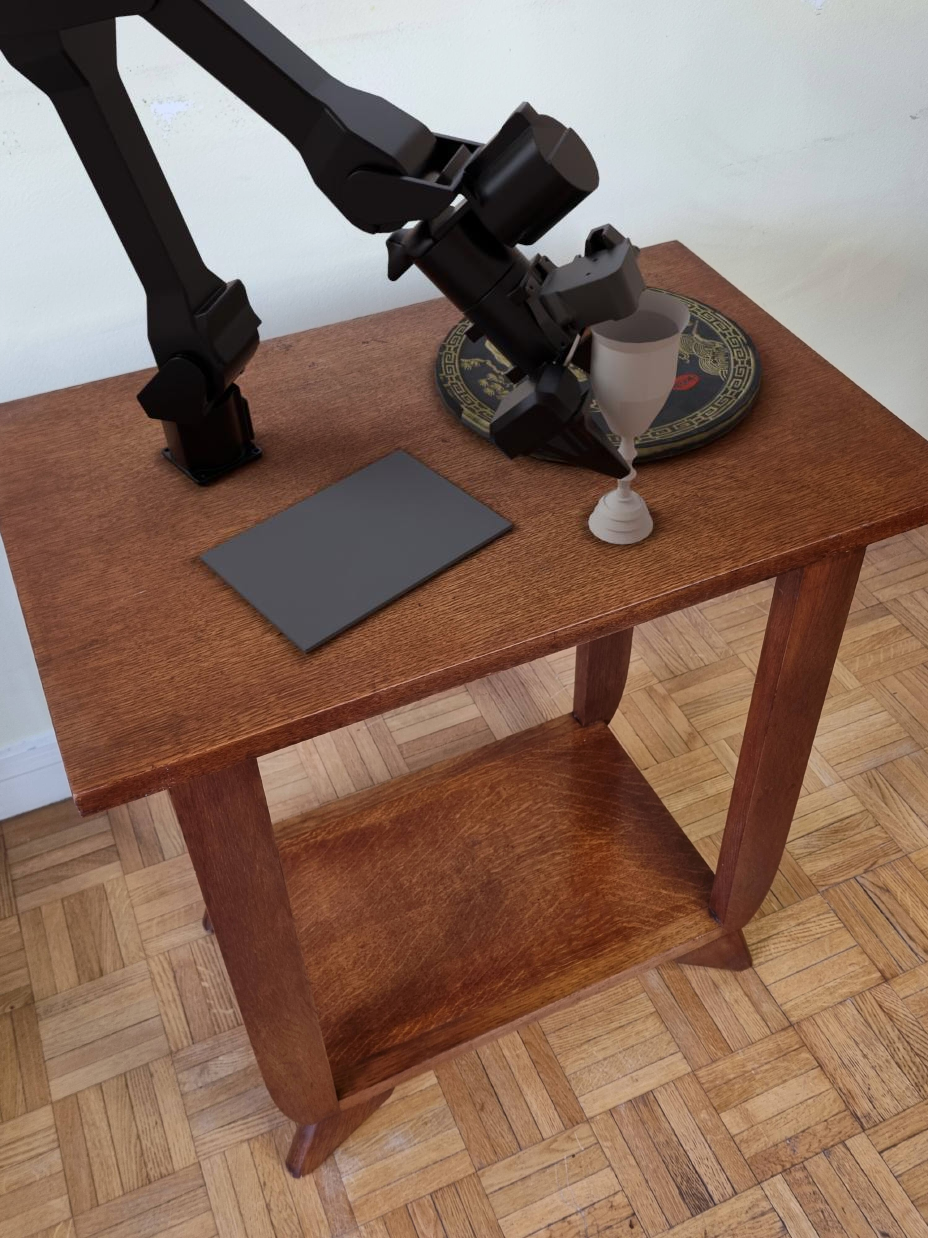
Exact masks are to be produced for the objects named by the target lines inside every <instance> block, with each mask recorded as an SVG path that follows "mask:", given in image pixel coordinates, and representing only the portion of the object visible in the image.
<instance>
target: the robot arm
mask: <svg viewBox="0 0 928 1238" xmlns="http://www.w3.org/2000/svg"><path fill="white" fill-rule="evenodd" d="M132 16H133V17H134V16H138V17H140V18H142V19H143V20H144V21H145V22H146V23H148V24H149V25H151V26H152V27H153V28H154V29H155V30H156V31H158V32H159V33H160V34H161V35H162V36H164V37H165V38H166V39H167V40H168V41H169V42H170V43H172V44H173V45H174V46H176V47H177V48H178V49H179V50H180V51H181V52H182V53H184V54H185V55H186V56H187V57H189V59H191V60H192V61H193V62H195V64H197V65H198V66H199V67H201V68H202V69H203V70H204V71H205V72H207V73H208V74H209V75H210V76H211V77H213V78H214V79H215V80H216V81H217V82H218V83H219V84H221V85H222V86H223V87H225V89H227V91H229V92H230V93H232V94H233V95H234V96H235V97H236V98H237V99H239V100H240V101H241V102H242V103H244V104H245V105H246V106H247V107H248V108H249V109H251V110H252V111H253V112H254V113H256V114H257V116H259V117H260V118H261V119H263V120H264V121H265V122H266V123H268V124H269V125H270V126H271V127H272V128H273V129H274V130H276V131H277V132H278V133H279V134H280V135H282V136H283V137H284V138H285V139H286V140H287V141H288V142H289V143H290V144H291V145H292V147H293V148H294V149H295V151H297V152H298V154H299V155H300V157H301V159H302V161H303V163H304V165H305V167H306V170H307V171H308V173H309V176H310V178H311V179H312V182H313V183H314V185H315V187H316V188H317V189H318V190H319V191H320V192H321V193H322V194H323V195H324V196H325V198H326V199H327V200H328V201H329V202H330V203H331V205H333V206H334V208H336V210H338V212H339V213H340V214H341V215H342V216H343V217H344V218H345V219H346V220H347V222H349V223H350V225H352V226H353V227H355V228H357V229H358V230H360V231H362V232H364V233H366V234H369V235H372V236H373V235H376V234H390V235H389V236H388V237H387V238H386V239H385V243H384V244H385V246H386V247H385V248H386V251H387V272H386V273H387V275H386V276H387V280H389V281H391V282H396V281H398V280H399V279H400V278H401V277H402V276H403V275H404V274H405V273H406V272H407V271H408V270H409V269H410V268H411V267H412V266H414V265H415V267H416V268H417V269H418V270H419V271H420V272H421V273H423V275H424V276H425V277H426V278H427V279H428V280H429V281H430V282H431V283H432V284H433V285H434V287H436V289H438V290H439V292H440V293H441V294H443V296H444V297H445V298H446V299H447V300H448V301H449V302H450V303H451V304H452V305H453V306H454V307H455V308H456V309H457V310H458V311H459V312H460V313H461V314H462V315H463V316H464V317H466V318H467V319H468V320H469V321H470V324H469V325H468V327H467V329H466V330H465V332H464V334H465V335H466V336H467V337H468V338H469V339H470V340H471V341H472V342H473V343H475V342H476V341H478V340H479V339H480V338H481V337H482V336H484V337H485V338H486V339H487V340H488V341H489V342H490V343H491V344H492V345H493V346H494V347H495V348H496V349H497V350H498V351H499V352H500V353H501V354H502V355H503V356H504V357H505V358H506V359H507V360H508V361H509V362H510V363H511V364H510V366H509V368H508V370H507V372H506V374H505V376H506V377H507V378H508V379H509V380H510V381H511V382H512V383H513V384H514V385H515V384H516V383H518V382H519V381H520V380H522V379H523V378H524V377H526V376H527V375H528V376H529V377H530V378H528V379H527V380H526V381H524V382H523V383H522V384H520V385H519V386H518V387H516V388H515V389H514V390H513V391H511V392H510V393H509V394H507V395H506V396H505V397H503V399H502V401H501V403H500V405H499V407H498V409H497V411H496V413H495V415H494V417H493V419H492V420H491V422H490V424H489V431H490V441H491V442H490V441H489V442H490V443H491V444H492V445H493V446H494V447H496V449H497V450H499V452H501V454H502V455H503V456H504V457H505V458H507V459H508V460H509V461H513V460H514V459H515V458H517V457H519V456H521V457H523V458H524V459H525V458H528V457H530V456H529V455H531V454H536V455H540V456H544V457H549V458H553V459H557V460H561V461H564V462H563V463H566V462H568V463H567V464H571V465H575V466H578V467H580V468H583V469H587V470H589V471H592V472H595V473H598V474H601V475H604V476H607V477H610V478H613V479H615V480H617V479H619V480H620V479H623V478H625V477H626V476H628V475H629V474H630V472H631V469H630V467H629V465H628V464H627V463H626V461H625V460H624V458H623V457H622V455H621V454H620V452H619V451H618V450H617V449H616V447H615V446H614V445H613V444H612V442H611V441H610V440H609V439H608V437H607V436H606V435H605V433H604V432H603V431H602V430H601V428H600V427H599V426H598V425H597V423H596V422H595V421H594V420H593V419H592V417H591V414H590V400H591V391H590V389H588V390H587V391H585V392H584V393H582V389H581V386H580V384H579V381H578V378H577V377H576V376H575V375H574V374H573V372H572V371H571V370H570V369H569V368H568V367H569V365H570V362H571V363H573V364H574V365H576V366H577V367H579V368H580V369H582V370H583V371H585V372H586V373H588V374H589V375H590V369H591V349H592V332H591V330H590V328H589V326H592V325H595V324H599V323H602V322H605V321H608V320H614V321H618V320H622V319H624V318H627V317H629V316H630V315H632V314H633V313H634V312H635V311H636V310H637V308H638V306H639V298H640V296H641V293H642V291H645V289H646V286H647V285H646V282H645V280H644V276H643V275H642V271H641V269H640V266H639V264H638V260H639V259H640V255H641V249H640V247H639V246H637V245H635V244H633V243H632V241H631V238H630V237H625V236H624V235H623V233H621V232H620V231H619V230H618V229H616V228H615V226H613V225H612V224H611V223H610V222H609V223H605V224H603V225H599V226H597V227H595V228H594V227H593V228H591V230H590V231H589V233H588V235H587V237H586V239H585V241H584V254H583V256H582V254H581V253H579V254H576V255H575V256H574V258H573V260H572V261H571V262H569V263H566V264H563V265H561V266H557V265H556V264H555V263H554V262H553V261H552V260H551V259H550V258H549V257H548V256H547V255H546V254H545V255H544V254H543V255H541V254H540V253H539V252H537V253H536V254H535V255H534V256H533V257H531V258H530V259H528V257H527V256H526V255H525V254H524V253H523V252H522V251H521V250H520V249H519V248H518V247H517V245H520V246H527V247H528V246H533V245H534V244H536V243H537V242H538V241H540V239H542V238H543V237H544V236H545V235H546V234H547V233H548V232H550V231H551V230H552V229H553V228H554V227H555V226H556V225H558V223H560V222H561V221H562V220H563V219H565V218H566V216H568V215H569V214H570V213H571V212H572V211H574V210H575V209H576V208H577V207H578V206H579V205H580V204H582V202H584V201H585V200H586V199H587V198H588V197H589V196H590V195H591V194H593V193H594V192H595V191H596V190H597V189H598V187H599V186H600V173H599V169H598V166H597V162H596V161H595V159H594V157H593V155H592V153H591V151H590V149H589V147H588V146H587V145H586V143H585V142H584V140H583V139H582V137H581V136H580V135H579V134H578V133H577V132H576V131H575V129H573V128H572V127H567V126H566V125H565V124H563V123H562V122H561V121H559V120H558V119H556V118H555V117H553V116H550V115H548V114H542V113H538V112H537V110H536V109H535V108H534V107H533V105H531V103H529V101H522V102H521V103H520V104H519V105H518V106H517V107H516V108H515V109H514V111H513V112H512V113H511V114H510V115H509V116H508V118H507V119H506V120H505V121H504V123H503V124H502V126H501V128H500V129H499V130H498V131H497V132H496V133H495V134H494V135H493V136H492V137H491V138H490V139H489V140H488V141H487V142H486V143H485V142H479V141H475V140H471V139H466V138H462V137H457V136H452V135H449V134H443V133H440V132H435V131H431V129H430V128H429V127H428V126H427V125H426V124H424V123H423V122H422V121H420V120H419V119H417V117H414V116H412V115H411V114H410V113H409V112H406V111H405V110H403V109H402V108H400V107H398V106H397V105H395V104H394V103H392V102H391V101H389V100H388V99H387V98H386V99H385V98H384V97H383V96H379V95H377V94H373V93H371V92H369V91H364V90H362V89H358V88H355V87H352V86H349V85H348V84H345V83H344V82H342V81H341V80H339V79H337V78H336V77H334V76H333V75H331V74H330V73H329V72H328V71H327V70H326V69H324V67H322V66H321V65H320V64H319V63H318V62H316V61H315V60H314V59H313V58H312V57H311V56H309V55H308V54H307V53H306V52H305V51H303V49H302V48H300V46H298V45H297V44H295V42H293V41H292V40H291V39H290V38H288V37H287V36H286V35H285V34H284V33H283V32H282V31H280V30H279V28H277V27H276V26H274V24H273V23H271V22H270V21H269V20H268V19H267V18H265V16H263V15H262V14H261V13H260V12H258V10H256V9H255V8H254V7H252V6H251V5H250V4H249V3H248V2H247V1H246V0H0V52H1V54H2V56H3V57H4V59H5V61H6V62H7V63H8V64H9V65H10V66H11V67H12V68H13V69H14V70H16V71H17V72H18V73H19V74H21V76H23V77H24V78H25V79H26V80H28V81H29V82H30V83H31V84H33V86H35V87H36V88H37V89H38V90H40V91H41V92H42V93H43V94H44V95H46V96H47V98H48V99H49V101H50V102H51V104H52V105H53V107H54V109H55V111H56V114H57V116H58V117H59V120H60V121H61V123H62V126H63V128H64V129H65V131H66V134H67V136H68V138H69V140H70V141H71V143H72V146H73V148H74V150H75V152H76V154H77V156H78V158H79V160H80V162H81V164H82V166H83V168H84V170H85V172H86V174H87V176H88V178H89V180H90V182H91V184H92V186H93V188H94V191H95V192H96V195H97V196H98V198H99V201H100V202H101V205H102V208H103V209H104V211H105V213H106V215H107V217H108V219H109V221H110V223H111V225H112V227H113V229H114V231H115V233H116V235H117V237H118V239H119V241H120V244H121V245H122V247H123V249H124V251H125V253H126V256H127V257H128V260H129V262H130V264H131V266H132V267H133V270H134V272H135V274H136V276H137V277H138V280H139V282H140V284H141V286H142V289H143V291H144V293H145V298H146V301H145V302H146V303H145V304H146V307H145V308H146V335H147V336H146V337H147V341H148V345H149V347H150V350H151V353H152V355H153V356H152V357H153V358H154V361H155V364H156V367H157V370H158V372H156V374H155V375H154V376H153V377H152V378H151V379H150V380H149V381H148V382H147V383H146V384H145V386H144V387H143V388H142V389H140V391H139V392H138V393H137V394H136V400H137V402H138V403H139V404H140V406H141V408H142V410H143V411H144V413H145V414H146V416H147V418H149V419H151V420H157V421H161V422H160V423H161V426H162V430H163V433H164V438H165V442H166V445H167V446H165V447H163V448H162V449H161V454H162V457H163V458H165V459H166V461H168V462H169V463H170V464H172V466H174V467H175V468H176V469H178V470H179V471H180V472H181V473H182V474H184V475H185V476H186V477H187V478H188V479H189V480H191V481H192V482H193V483H195V484H196V485H197V486H206V485H207V484H209V483H211V482H213V481H215V480H217V479H219V478H221V477H223V476H225V475H227V474H229V473H231V472H233V471H235V470H237V469H240V468H241V467H243V466H245V465H248V464H249V463H251V462H254V461H255V460H257V459H259V458H261V457H262V456H263V450H262V448H261V447H260V446H258V444H256V443H254V442H253V441H254V440H255V437H256V435H255V429H254V425H253V420H252V416H251V410H250V406H249V400H248V398H246V397H245V396H244V395H242V392H241V387H240V385H238V384H237V383H235V382H236V380H237V379H238V378H239V376H240V375H242V374H243V373H244V372H245V371H246V366H247V365H248V364H249V363H250V361H251V360H253V358H254V357H255V355H256V353H257V350H258V348H259V345H260V343H261V337H260V332H259V327H260V326H261V325H262V323H263V321H262V319H261V318H260V317H259V315H257V313H256V312H255V311H254V309H253V306H252V305H251V303H250V300H249V296H248V292H247V288H246V286H245V284H244V283H243V281H242V280H241V279H239V278H236V279H232V280H230V281H227V282H226V281H225V280H224V279H223V278H221V277H220V276H218V275H217V274H216V273H215V272H214V271H212V270H211V269H210V268H208V266H207V265H206V263H205V262H204V260H203V258H202V256H201V252H200V251H199V249H198V247H197V245H196V242H195V240H194V238H193V236H192V233H191V231H190V229H189V227H188V224H187V222H186V220H185V217H184V216H183V213H182V211H181V209H180V207H179V205H178V202H177V200H176V198H175V196H174V193H173V191H172V189H171V187H170V184H169V181H168V179H167V178H166V175H165V174H164V171H163V169H162V166H161V165H160V162H159V160H158V157H157V155H156V153H155V151H154V149H153V147H152V144H151V142H150V140H149V137H148V135H147V133H146V131H145V129H144V127H143V124H142V122H141V120H140V117H139V116H138V113H137V111H136V108H135V106H134V105H133V102H132V100H131V98H130V96H129V92H128V90H127V89H126V86H125V84H124V82H123V80H122V77H121V75H120V72H119V71H120V70H119V68H118V49H117V48H118V47H117V46H118V45H117V42H118V41H117V18H122V17H123V18H124V17H132ZM459 195H461V196H462V197H463V199H461V200H460V201H459V202H458V203H457V204H455V205H452V204H453V203H454V202H455V200H456V199H457V197H458V196H459ZM410 222H411V223H412V222H417V223H416V224H415V225H414V226H413V227H411V228H406V227H405V226H407V224H408V223H410ZM404 227H405V228H404ZM553 362H555V364H554V363H553Z"/></svg>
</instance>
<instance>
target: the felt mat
mask: <svg viewBox="0 0 928 1238" xmlns="http://www.w3.org/2000/svg"><path fill="white" fill-rule="evenodd" d="M511 529H513V523H511V522H510V521H508V520H507V519H505V518H504V517H502V515H500V514H498V513H496V511H494V510H492V509H491V508H489V507H488V506H486V505H484V504H483V503H482V502H480V501H479V500H477V499H476V498H474V497H473V496H471V495H470V494H469V493H466V492H465V491H464V490H462V489H461V488H459V487H458V486H456V484H453V483H452V482H451V481H449V480H448V479H446V478H444V477H443V476H441V475H440V474H438V473H437V472H435V471H434V470H432V469H431V468H430V467H428V466H426V465H425V464H424V463H422V462H420V461H419V460H417V459H416V458H415V457H413V456H412V455H410V454H408V453H407V452H405V451H404V450H402V449H401V448H399V449H397V450H395V451H394V452H392V453H390V454H387V455H386V456H384V457H382V458H380V459H378V460H377V461H375V462H373V463H371V464H370V465H368V466H366V467H364V468H362V469H360V470H358V471H356V472H354V473H352V474H351V475H348V476H347V477H345V478H343V479H341V480H340V481H338V482H336V483H334V484H332V485H330V486H328V487H326V488H325V489H322V490H321V491H319V492H316V493H315V494H313V495H311V496H309V497H307V498H305V499H303V500H302V501H300V502H298V503H296V504H294V505H292V506H291V507H288V508H286V509H285V510H283V511H281V512H279V513H277V514H276V515H273V516H272V517H270V518H268V519H265V520H263V521H262V522H261V523H259V524H256V525H255V526H253V527H251V528H249V529H247V530H245V531H244V532H242V533H240V534H238V535H236V536H234V537H231V538H230V539H229V540H227V541H224V542H223V543H221V544H219V545H217V546H216V547H213V548H211V549H210V550H207V551H206V552H204V553H202V554H200V555H199V557H200V560H201V561H202V562H203V563H204V564H205V565H207V566H208V567H209V568H210V569H211V570H212V571H213V572H214V573H216V575H218V576H219V577H220V578H221V579H222V580H223V581H224V582H225V583H227V585H229V586H230V587H231V588H232V589H233V590H234V591H235V592H237V593H238V594H239V596H241V597H242V598H243V599H244V600H246V601H247V602H248V603H249V604H250V605H251V606H252V607H253V608H254V609H255V610H256V611H257V612H259V613H260V614H261V615H262V616H263V617H264V618H265V619H266V620H267V621H269V622H270V623H271V624H272V625H273V626H274V627H275V628H276V629H277V630H279V631H280V632H281V633H282V634H283V635H284V636H285V637H287V638H288V639H289V640H290V641H291V642H292V643H293V644H294V645H295V646H296V647H298V648H299V649H300V650H301V651H302V652H303V653H304V654H309V653H310V652H312V651H313V650H315V649H317V648H318V647H320V646H321V645H323V644H325V643H326V642H328V641H330V640H331V639H333V638H334V637H336V636H338V635H339V634H342V632H344V631H346V630H347V629H349V628H351V627H352V626H354V625H356V624H358V623H359V622H360V621H362V620H364V619H366V618H367V617H369V616H370V615H372V614H374V613H376V612H377V611H379V610H380V609H382V608H383V607H385V606H387V605H389V604H390V603H392V602H393V601H395V600H397V599H398V598H400V597H401V596H403V595H405V594H406V593H408V592H410V591H411V590H413V589H414V588H416V587H418V586H420V585H421V584H423V583H424V582H426V581H428V580H429V579H431V578H432V577H434V576H436V575H437V574H439V573H441V572H442V571H444V570H445V569H448V568H449V567H451V566H452V565H454V564H455V563H458V562H459V561H461V560H462V559H463V558H465V557H467V556H469V555H470V554H472V553H473V552H476V551H477V550H479V549H481V547H483V546H485V545H486V544H488V543H490V542H491V541H493V540H495V539H496V538H498V537H499V536H501V535H503V534H505V533H506V532H508V531H510V530H511Z"/></svg>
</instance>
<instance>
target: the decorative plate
mask: <svg viewBox="0 0 928 1238" xmlns="http://www.w3.org/2000/svg"><path fill="white" fill-rule="evenodd" d="M645 290H649V291H656V292H661V293H665V294H668V295H671V296H673V297H675V298H677V299H679V300H680V301H681V302H683V303H684V304H685V305H686V306H687V307H688V310H689V313H690V319H689V323H688V325H687V326H686V328H685V329H684V331H683V332H682V334H681V335H680V344H679V352H678V361H677V370H676V378H675V382H674V386H673V388H672V390H671V392H670V394H669V396H668V398H667V400H666V402H665V404H664V406H663V407H662V409H661V410H660V412H659V413H658V414H657V416H656V417H655V419H654V420H653V422H652V423H651V425H650V426H649V427H648V429H647V430H646V431H645V433H643V434H641V435H639V436H636V437H634V440H633V441H634V448H635V450H636V451H637V456H636V457H635V458H634V459H633V461H632V463H631V464H634V463H637V464H638V463H646V462H650V461H656V460H660V459H665V458H670V457H675V456H679V455H681V454H684V453H686V452H690V451H693V450H695V449H698V448H700V447H703V446H706V445H708V444H709V443H711V442H713V441H715V440H716V439H718V438H720V437H722V436H724V435H725V434H727V433H729V432H730V431H731V430H732V429H734V428H735V426H737V425H738V424H739V423H741V421H742V420H743V419H745V417H747V416H748V414H749V413H750V411H751V409H752V408H753V406H754V405H755V403H756V401H757V400H758V398H759V393H760V388H761V384H762V380H763V367H762V362H761V361H762V360H761V354H760V352H759V351H758V349H757V347H756V345H755V343H754V342H753V339H752V338H751V336H750V335H749V334H748V333H747V332H746V331H745V330H744V329H743V328H742V327H741V326H740V325H739V324H738V323H737V322H736V321H734V320H733V319H732V318H730V317H729V316H727V315H726V314H724V313H723V312H722V311H720V310H718V309H717V308H715V307H712V306H710V305H708V304H706V303H704V302H702V301H700V300H697V299H695V298H694V297H689V296H687V295H683V294H681V293H679V292H678V293H677V292H674V291H671V290H668V289H663V288H659V287H654V286H649V285H646V289H645ZM469 324H470V321H469V320H468V319H467V318H466V317H465V316H464V317H462V318H461V319H459V321H458V322H457V323H456V324H455V325H454V326H453V327H452V328H450V329H449V331H448V333H447V334H446V336H445V338H444V339H443V341H442V342H441V344H440V346H439V348H438V353H437V357H436V362H435V366H434V377H435V382H436V390H437V392H438V394H439V397H440V399H441V400H442V402H443V404H444V406H445V408H446V410H448V412H449V413H450V414H451V415H452V416H453V417H454V418H455V419H456V420H457V421H458V422H459V424H461V425H462V426H463V427H465V428H466V429H467V430H470V431H471V432H472V433H474V434H475V435H477V436H478V437H479V438H481V439H483V440H486V441H487V442H490V443H492V442H491V441H490V431H489V424H490V422H491V420H492V419H493V417H494V415H495V413H496V411H497V409H498V407H499V405H500V403H501V401H502V399H503V397H505V396H506V395H507V394H509V393H510V392H511V391H513V390H514V389H515V388H516V387H518V386H519V385H520V384H522V383H523V382H524V381H526V380H527V379H528V378H530V377H529V376H528V375H527V376H526V377H524V378H523V379H522V380H520V381H519V382H518V383H516V384H515V385H514V384H513V383H512V382H511V381H510V380H509V379H508V378H507V377H506V376H505V374H506V372H507V370H508V368H509V366H510V364H511V363H510V362H509V361H508V360H507V359H506V358H505V357H504V356H503V355H502V354H501V353H500V352H499V351H498V350H497V349H496V348H495V347H494V346H493V345H492V344H491V343H490V342H489V341H488V340H487V339H486V338H485V337H484V336H482V337H481V338H480V339H479V340H478V341H476V342H475V343H473V342H472V341H471V340H470V339H469V338H468V337H467V336H466V335H465V334H464V332H465V330H466V329H467V327H468V325H469ZM553 363H554V364H555V362H553ZM568 368H569V369H570V370H571V371H572V372H573V374H574V375H575V376H576V377H577V378H578V381H579V384H580V386H581V389H582V393H584V392H585V391H587V390H588V389H590V391H591V400H590V414H591V417H592V419H593V420H594V421H595V422H596V423H597V425H598V426H599V427H600V428H601V430H602V431H603V432H604V433H605V435H606V436H607V437H608V439H609V440H610V441H611V442H612V444H613V445H614V446H615V447H616V449H617V450H618V449H619V447H620V444H621V441H622V439H621V436H618V435H616V434H614V433H613V432H612V431H611V430H610V428H609V426H608V424H607V422H606V420H605V418H604V416H603V414H602V412H601V410H600V408H599V407H598V404H597V401H596V398H595V395H594V392H593V388H592V385H591V381H590V375H589V374H588V373H586V372H585V371H583V370H582V369H580V368H579V367H577V366H576V365H574V364H573V363H571V362H570V365H569V367H568ZM528 457H533V458H536V459H541V460H547V461H553V462H560V463H567V464H569V463H568V462H564V461H561V460H557V459H553V458H549V457H544V456H540V455H536V454H531V455H529V456H528Z"/></svg>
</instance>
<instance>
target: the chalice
mask: <svg viewBox="0 0 928 1238" xmlns="http://www.w3.org/2000/svg"><path fill="white" fill-rule="evenodd" d="M689 319H690V313H689V310H688V307H687V306H686V305H685V304H684V303H683V302H681V301H680V300H679V299H677V298H675V297H673V296H671V295H668V294H665V293H661V292H656V291H649V290H645V291H642V293H641V296H640V298H639V306H638V308H637V310H636V311H635V312H634V313H633V314H632V315H630V316H629V317H627V318H624V319H622V320H618V321H614V320H608V321H605V322H602V323H599V324H595V325H592V326H589V328H590V330H591V332H592V349H591V369H590V381H591V385H592V388H593V392H594V395H595V398H596V401H597V404H598V407H599V408H600V410H601V412H602V414H603V416H604V418H605V420H606V422H607V424H608V426H609V428H610V430H611V431H612V432H613V433H614V434H616V435H618V436H621V439H622V441H621V444H620V447H619V449H618V451H619V452H620V454H621V455H622V457H623V458H624V460H625V461H626V463H627V464H628V465H629V467H630V469H631V472H630V474H629V475H628V476H626V477H625V478H623V479H620V480H619V479H616V481H617V488H615V489H613V490H610V491H608V492H606V493H605V494H604V495H602V497H601V498H600V499H599V500H598V503H597V505H596V506H595V507H594V510H593V512H592V513H591V514H590V516H589V518H588V527H589V530H590V532H591V533H592V534H593V535H594V536H595V537H596V538H599V539H600V540H601V541H604V542H607V543H610V544H616V545H630V544H635V543H638V542H641V541H643V540H644V539H646V538H647V537H648V536H650V534H651V533H652V531H653V528H654V522H653V518H652V516H651V515H650V512H649V509H648V507H647V504H646V501H645V500H644V499H643V497H642V496H641V495H639V494H638V493H637V492H635V491H634V490H631V487H630V485H631V483H632V481H633V480H634V479H635V478H636V477H637V471H636V470H635V468H634V467H633V463H632V461H633V459H634V458H635V457H636V456H637V451H636V450H635V448H634V441H633V440H634V437H636V436H639V435H641V434H643V433H645V431H646V430H647V429H648V427H649V426H650V425H651V423H652V422H653V420H654V419H655V417H656V416H657V414H658V413H659V412H660V410H661V409H662V407H663V406H664V404H665V402H666V400H667V398H668V396H669V394H670V392H671V390H672V388H673V386H674V382H675V378H676V370H677V361H678V352H679V344H680V335H681V334H682V332H683V331H684V329H685V328H686V326H687V325H688V323H689Z"/></svg>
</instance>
